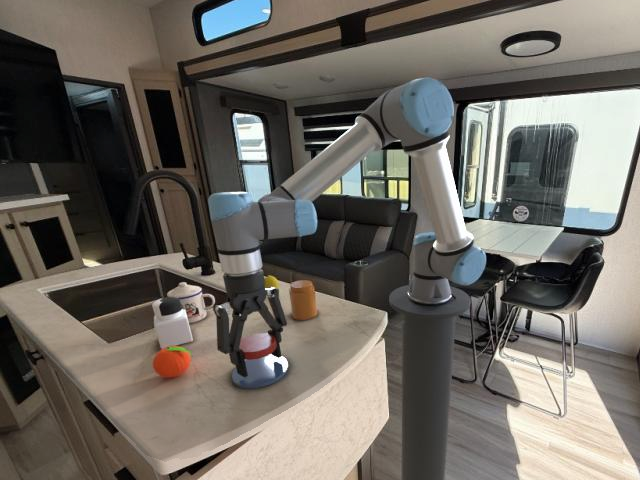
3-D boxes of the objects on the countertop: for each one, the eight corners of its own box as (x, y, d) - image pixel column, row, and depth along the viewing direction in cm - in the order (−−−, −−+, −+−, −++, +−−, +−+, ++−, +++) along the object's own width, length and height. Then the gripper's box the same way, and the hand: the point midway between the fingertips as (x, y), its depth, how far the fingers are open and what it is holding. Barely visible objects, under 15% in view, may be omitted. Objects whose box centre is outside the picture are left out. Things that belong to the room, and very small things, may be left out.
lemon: (260, 297, 114) (257, 277, 112) (271, 292, 119) (268, 272, 116) (273, 299, 113) (270, 278, 110) (283, 294, 118) (280, 273, 115)
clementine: (203, 364, 76) (197, 338, 74) (190, 382, 70) (182, 354, 67) (167, 366, 75) (159, 340, 73) (150, 385, 69) (141, 357, 66)
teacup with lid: (169, 326, 94) (159, 290, 90) (178, 314, 102) (169, 280, 98) (215, 320, 98) (207, 285, 94) (220, 308, 106) (213, 275, 102)
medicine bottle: (190, 331, 91) (180, 292, 87) (193, 341, 86) (182, 300, 82) (160, 338, 87) (148, 298, 83) (161, 349, 82) (148, 307, 78)
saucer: (299, 367, 75) (299, 364, 75) (253, 396, 66) (252, 392, 65) (267, 351, 81) (267, 349, 81) (221, 376, 72) (221, 373, 72)
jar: (322, 313, 103) (319, 282, 99) (303, 322, 97) (299, 289, 93) (306, 307, 107) (302, 278, 103) (287, 316, 101) (283, 284, 97)
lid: (229, 352, 70) (228, 345, 70) (262, 336, 77) (261, 329, 76) (251, 364, 66) (249, 356, 66) (284, 346, 73) (283, 339, 72)
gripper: (274, 256, 75) (287, 340, 83) (178, 282, 59) (205, 383, 67) (296, 261, 71) (306, 348, 79) (199, 290, 55) (225, 396, 63)
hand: (260, 364), depth 73 cm, fingers closed on lid, 8 cm apart
